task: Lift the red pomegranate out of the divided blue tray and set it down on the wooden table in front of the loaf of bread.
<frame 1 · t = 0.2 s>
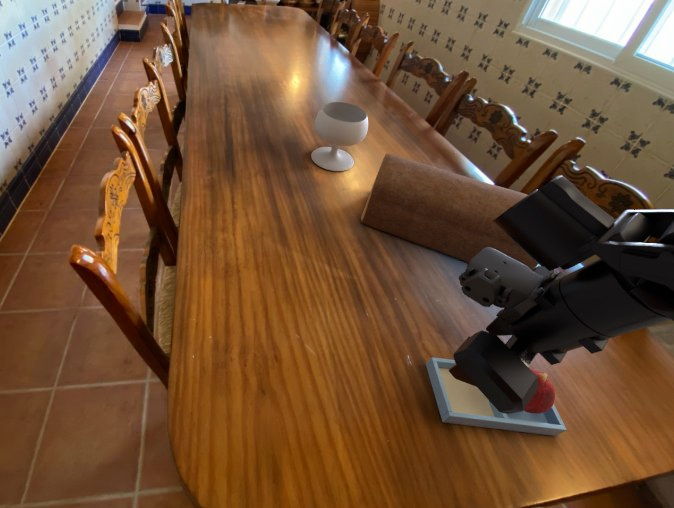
hand: (471, 351, 44), 15 cm above the table, tool pointing down, fingers open, 9 cm apart
bread: (437, 233, 82), on the table
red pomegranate: (513, 400, 54), resting on divided blue tray
chalice: (331, 160, 102), on the table
divided blue tray: (486, 398, 54), on the table
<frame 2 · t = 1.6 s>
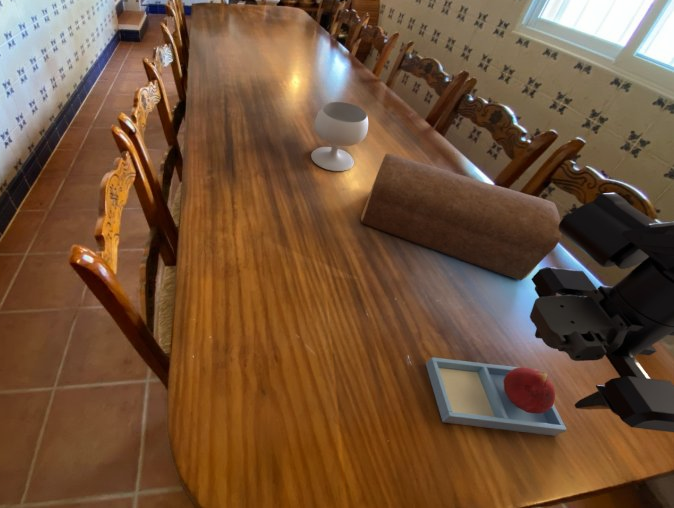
hand: (557, 369, 47), 11 cm above the table, tool pointing down, fingers open, 9 cm apart
nothing on the table moved.
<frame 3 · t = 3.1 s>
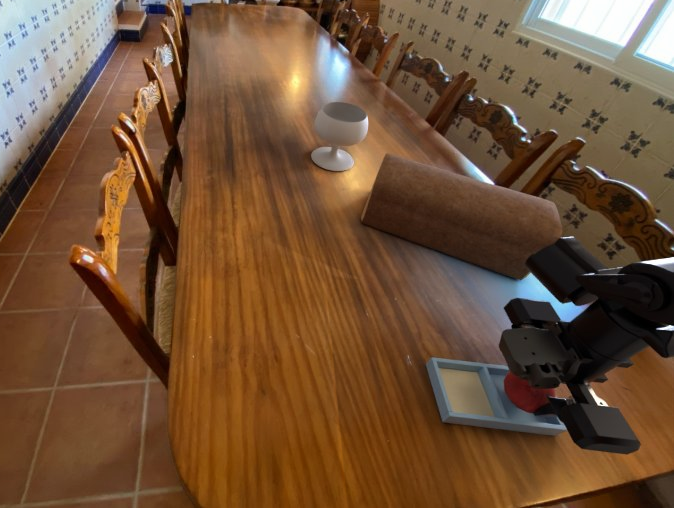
hand: (525, 391, 52), 4 cm above the table, tool pointing down, fingers closed on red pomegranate, 6 cm apart
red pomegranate: (513, 400, 54), resting on divided blue tray, touching gripper
everything else where it was.
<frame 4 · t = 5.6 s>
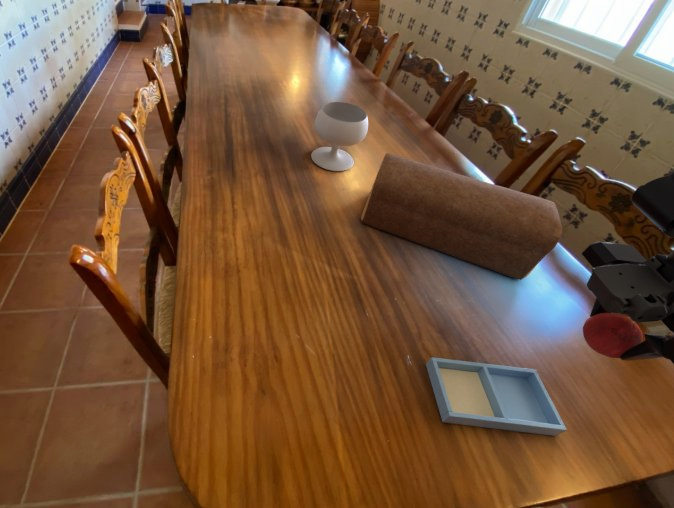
hand: (607, 337, 50), 12 cm above the table, tool pointing down, fingers closed on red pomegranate, 6 cm apart
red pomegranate: (592, 348, 52), point 9 cm above the table, touching gripper
everything else where it was.
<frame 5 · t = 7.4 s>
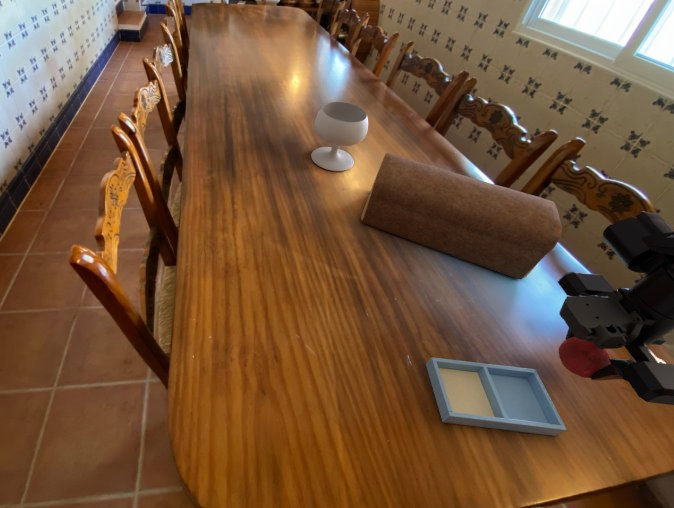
hand: (580, 358, 56), 4 cm above the table, tool pointing down, fingers closed on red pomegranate, 6 cm apart
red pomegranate: (567, 368, 58), point 1 cm above the table, touching gripper
everything else where it was.
when the fingers open (3 cm above the table, at t = 8.2 s): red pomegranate stays where it is, on the table.
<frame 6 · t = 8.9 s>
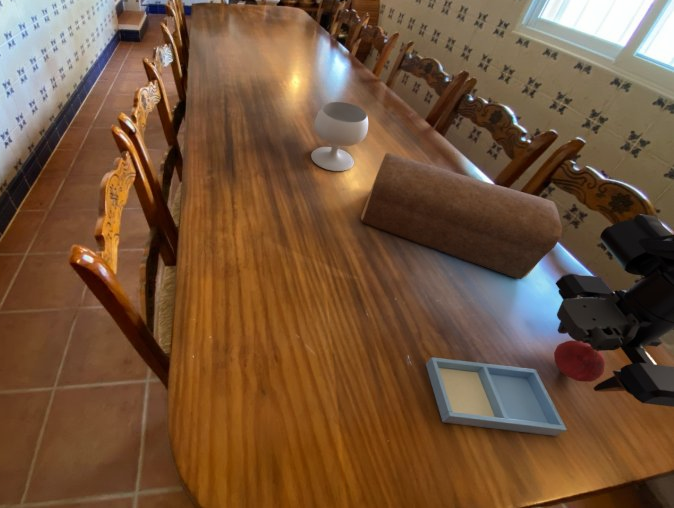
hand: (577, 359, 56), 4 cm above the table, tool pointing down, fingers open, 9 cm apart
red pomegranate: (562, 371, 59), on the table
everything else where it was.
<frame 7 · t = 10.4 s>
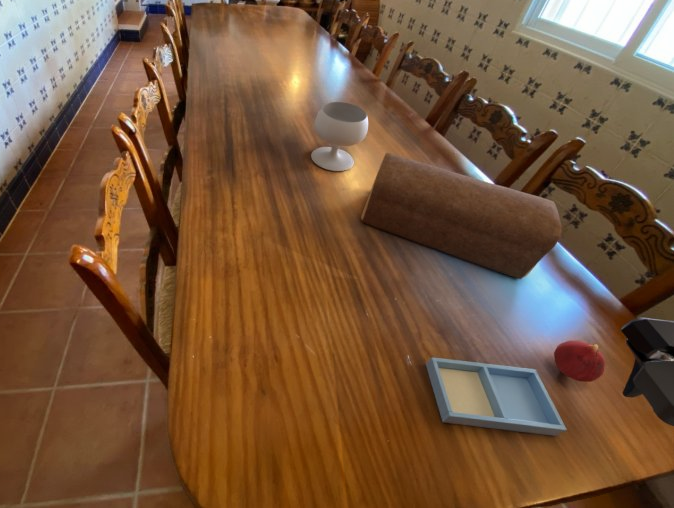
hand: (656, 438, 41), 12 cm above the table, tool pointing down, fingers open, 9 cm apart
nothing on the table moved.
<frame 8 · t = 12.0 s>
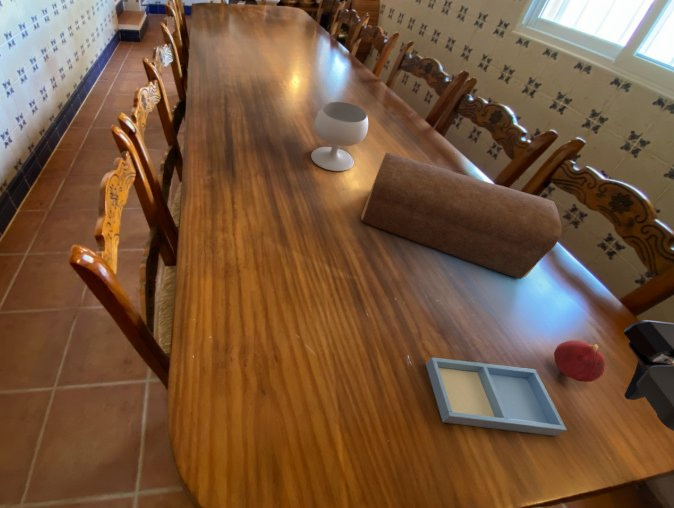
hand: (658, 441, 40), 12 cm above the table, tool pointing down, fingers open, 9 cm apart
nothing on the table moved.
at the end: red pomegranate inside the target area (0.2 cm from its centre), on the table; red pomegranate touching table; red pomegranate 32.5 cm from the bread (horizontally) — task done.
